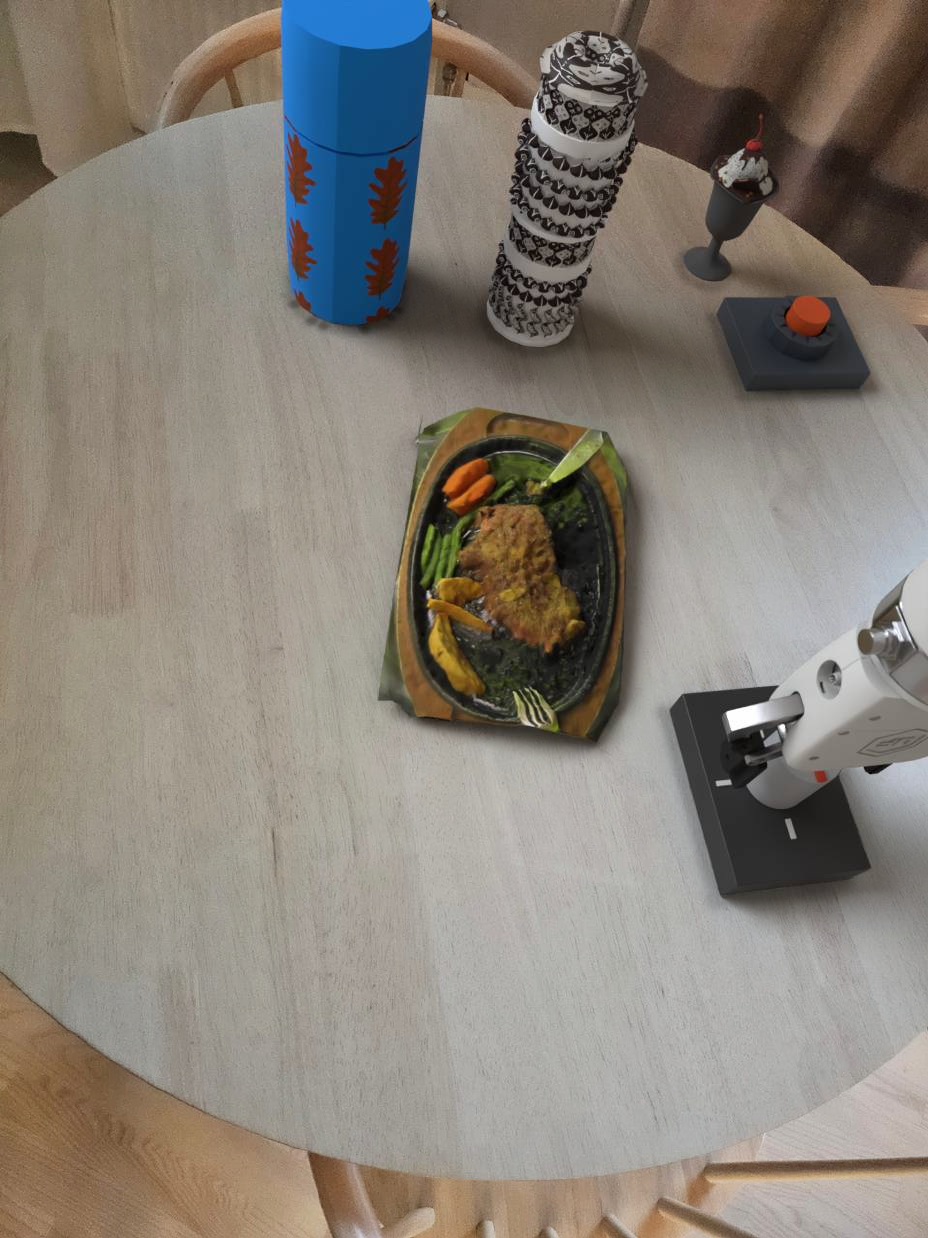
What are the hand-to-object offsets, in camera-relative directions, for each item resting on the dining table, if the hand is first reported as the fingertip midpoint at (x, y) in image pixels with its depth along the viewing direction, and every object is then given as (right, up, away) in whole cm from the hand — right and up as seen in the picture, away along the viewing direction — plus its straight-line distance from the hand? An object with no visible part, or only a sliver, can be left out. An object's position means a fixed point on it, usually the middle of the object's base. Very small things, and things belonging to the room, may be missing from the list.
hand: (797, 760), depth 63 cm
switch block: (+9, +36, +29) cm, 47 cm away
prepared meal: (-19, +13, +13) cm, 26 cm away
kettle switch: (+10, +37, +26) cm, 47 cm away
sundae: (+3, +46, +34) cm, 57 cm away
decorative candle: (-16, +38, +27) cm, 49 cm away
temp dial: (0, -2, +4) cm, 4 cm away
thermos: (-33, +41, +25) cm, 58 cm away
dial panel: (-1, -3, +6) cm, 7 cm away
